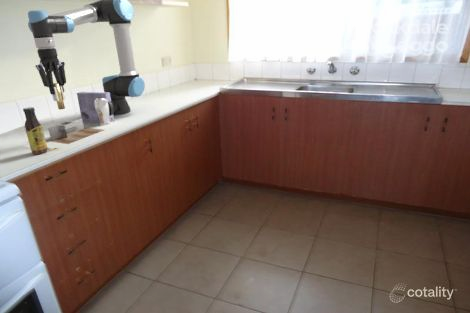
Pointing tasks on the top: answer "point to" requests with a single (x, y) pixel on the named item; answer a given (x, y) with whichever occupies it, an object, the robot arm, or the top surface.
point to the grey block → (69, 125)
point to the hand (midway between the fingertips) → (59, 100)
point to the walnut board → (77, 136)
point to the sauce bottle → (34, 132)
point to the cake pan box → (88, 105)
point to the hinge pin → (60, 102)
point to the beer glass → (102, 110)
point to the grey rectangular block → (59, 131)
